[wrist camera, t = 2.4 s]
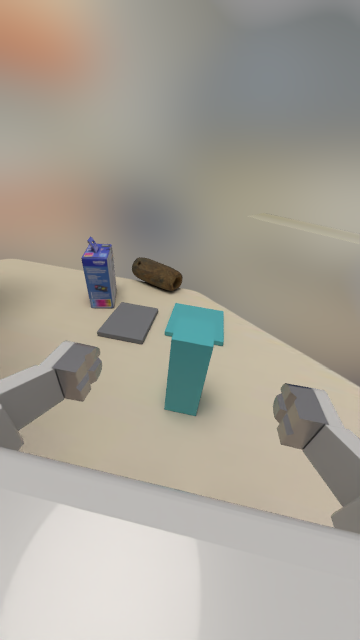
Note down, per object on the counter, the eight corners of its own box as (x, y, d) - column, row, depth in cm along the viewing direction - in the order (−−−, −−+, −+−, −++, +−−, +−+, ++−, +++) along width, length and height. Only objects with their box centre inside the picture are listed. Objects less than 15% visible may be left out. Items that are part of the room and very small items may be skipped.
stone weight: (128, 281, 63) (127, 259, 59) (143, 274, 68) (143, 253, 64) (171, 296, 58) (173, 273, 54) (183, 287, 63) (186, 266, 59)
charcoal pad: (97, 335, 41) (97, 331, 41) (121, 305, 51) (121, 302, 51) (142, 344, 40) (142, 340, 40) (157, 312, 50) (158, 308, 50)
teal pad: (164, 335, 44) (164, 331, 43) (175, 306, 53) (175, 303, 53) (222, 346, 43) (223, 342, 42) (222, 314, 52) (223, 311, 52)
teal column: (164, 409, 30) (171, 339, 23) (170, 384, 34) (178, 316, 26) (195, 416, 30) (213, 346, 22) (198, 389, 33) (214, 323, 26)
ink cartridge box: (95, 289, 57) (87, 232, 48) (116, 289, 58) (112, 234, 50) (89, 308, 49) (78, 244, 41) (114, 308, 50) (108, 246, 42)
